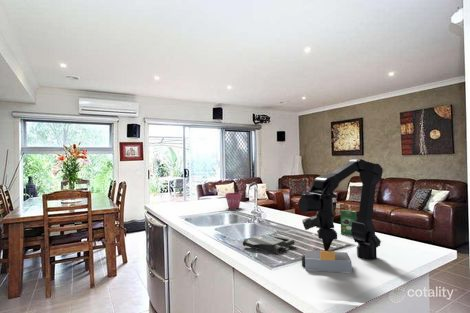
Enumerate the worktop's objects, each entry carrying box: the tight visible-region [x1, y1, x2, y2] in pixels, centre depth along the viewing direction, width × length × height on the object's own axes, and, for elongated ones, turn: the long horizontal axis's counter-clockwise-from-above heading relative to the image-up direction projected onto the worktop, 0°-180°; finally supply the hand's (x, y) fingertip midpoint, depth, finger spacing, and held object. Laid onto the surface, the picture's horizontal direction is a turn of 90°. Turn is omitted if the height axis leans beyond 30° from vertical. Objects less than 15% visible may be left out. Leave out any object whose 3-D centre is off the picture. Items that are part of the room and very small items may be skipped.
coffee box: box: [340, 209, 357, 236], centre depth 145 cm, size 8×3×13 cm, turn 61°
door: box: [305, 250, 353, 274], centre depth 97 cm, size 16×1×8 cm, turn 76°
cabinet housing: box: [301, 250, 352, 267], centre depth 102 cm, size 17×8×5 cm, turn 76°
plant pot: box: [225, 192, 243, 210], centre depth 233 cm, size 14×14×13 cm
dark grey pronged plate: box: [242, 234, 296, 254], centre depth 127 cm, size 16×20×5 cm
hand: (326, 251), depth 101 cm, fingers closed
